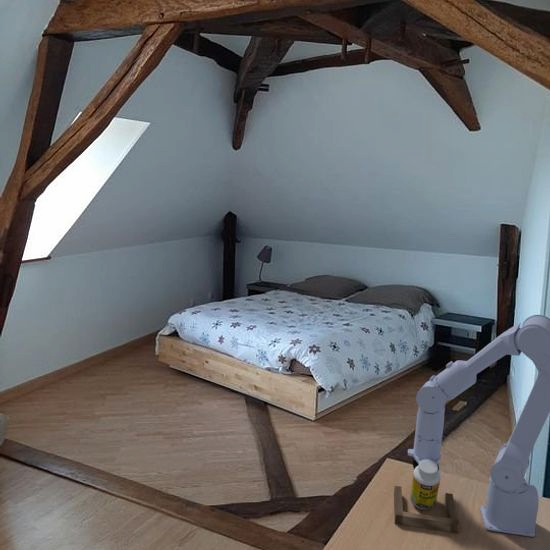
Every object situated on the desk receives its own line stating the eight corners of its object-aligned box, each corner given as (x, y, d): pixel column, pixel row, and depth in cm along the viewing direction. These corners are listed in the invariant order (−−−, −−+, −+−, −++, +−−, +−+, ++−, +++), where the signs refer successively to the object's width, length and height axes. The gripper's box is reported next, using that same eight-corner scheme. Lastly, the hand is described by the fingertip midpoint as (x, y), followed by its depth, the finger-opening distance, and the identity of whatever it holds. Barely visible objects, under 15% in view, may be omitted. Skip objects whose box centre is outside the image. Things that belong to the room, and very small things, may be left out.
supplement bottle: (414, 512, 122) (419, 477, 117) (406, 491, 127) (411, 457, 122) (440, 509, 122) (446, 475, 118) (430, 489, 127) (436, 455, 122)
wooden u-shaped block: (451, 502, 126) (452, 493, 125) (458, 533, 115) (459, 524, 115) (393, 493, 128) (394, 485, 127) (394, 523, 117) (395, 514, 117)
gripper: (408, 418, 133) (403, 471, 135) (411, 448, 119) (405, 507, 121) (440, 422, 131) (433, 476, 134) (446, 452, 117) (439, 512, 120)
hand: (422, 491), depth 128 cm, fingers closed
